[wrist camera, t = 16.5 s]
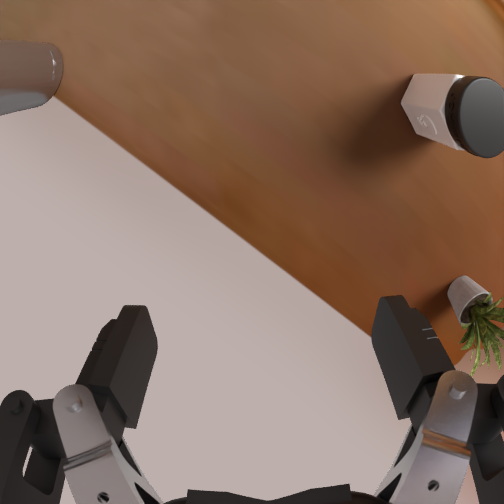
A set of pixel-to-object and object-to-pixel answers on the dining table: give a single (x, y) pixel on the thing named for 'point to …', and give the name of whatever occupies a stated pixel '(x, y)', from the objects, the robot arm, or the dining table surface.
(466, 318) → the house plant
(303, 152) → the dining table surface
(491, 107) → the jar
